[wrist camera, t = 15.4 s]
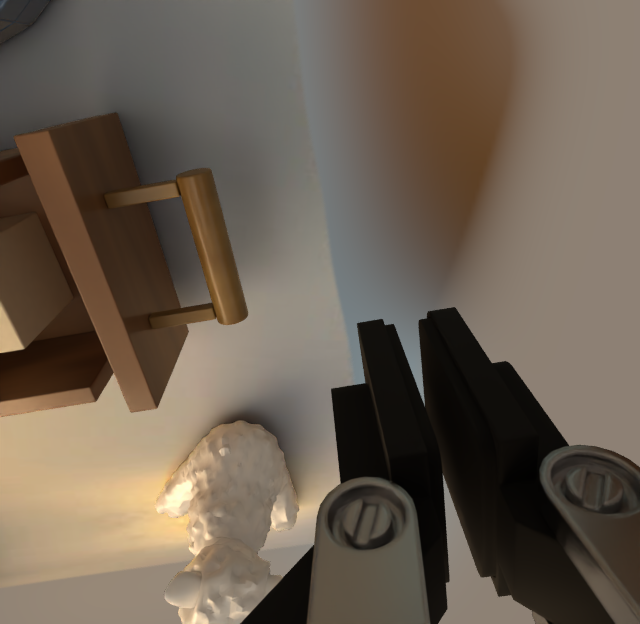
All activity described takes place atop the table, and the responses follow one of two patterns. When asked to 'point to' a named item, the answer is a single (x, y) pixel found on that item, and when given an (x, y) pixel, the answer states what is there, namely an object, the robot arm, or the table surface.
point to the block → (28, 282)
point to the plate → (18, 16)
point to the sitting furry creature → (228, 521)
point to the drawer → (108, 268)
